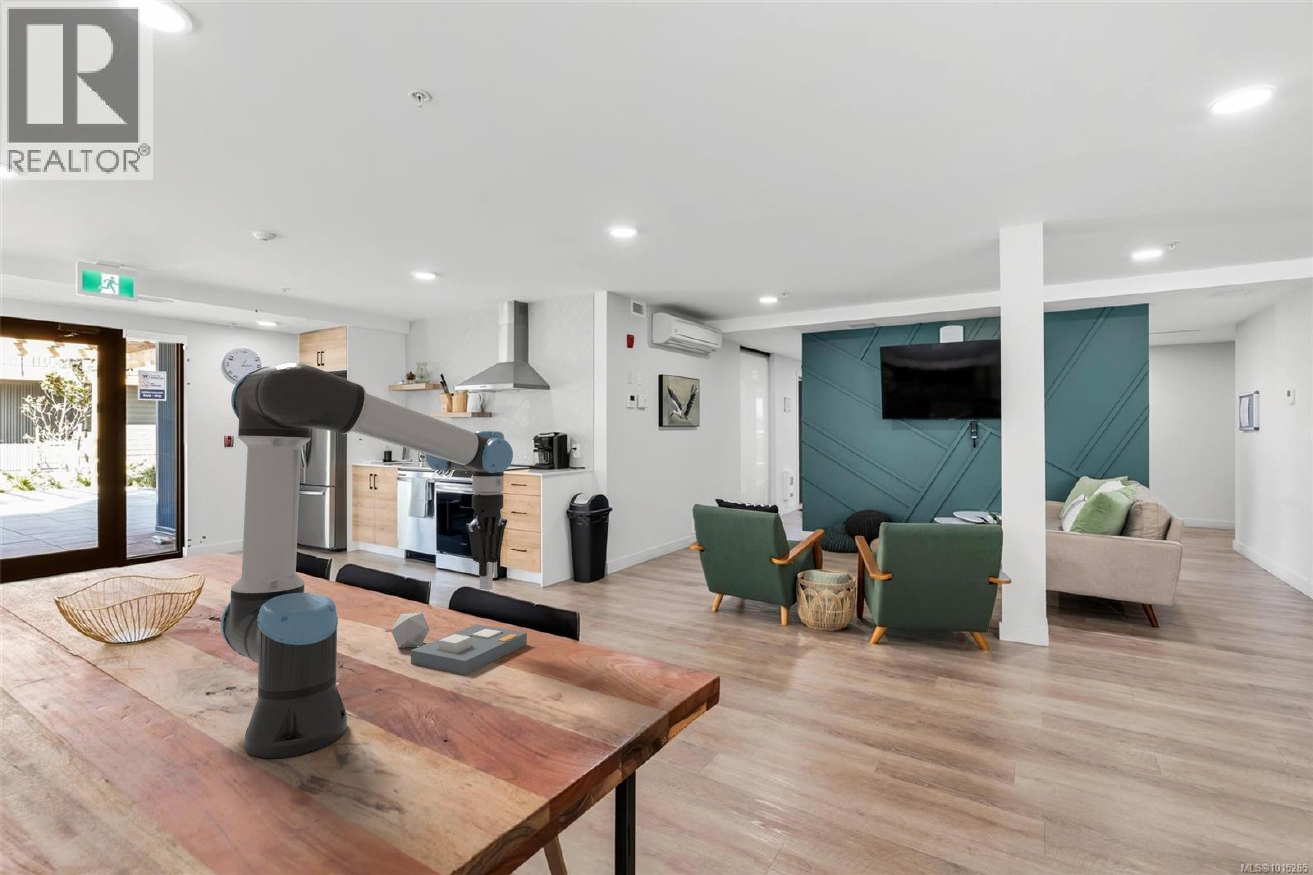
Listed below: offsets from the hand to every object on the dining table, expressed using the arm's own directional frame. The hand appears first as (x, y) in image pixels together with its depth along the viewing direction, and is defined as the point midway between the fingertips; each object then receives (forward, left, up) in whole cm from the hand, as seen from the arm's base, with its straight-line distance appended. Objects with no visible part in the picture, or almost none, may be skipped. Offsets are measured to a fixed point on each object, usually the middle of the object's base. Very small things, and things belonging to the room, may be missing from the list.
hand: (485, 588), depth 152 cm
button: (-11, 0, -12) cm, 16 cm away
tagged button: (0, 0, -14) cm, 14 cm away
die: (-7, +17, -15) cm, 24 cm away
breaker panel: (-5, 0, -14) cm, 15 cm away
